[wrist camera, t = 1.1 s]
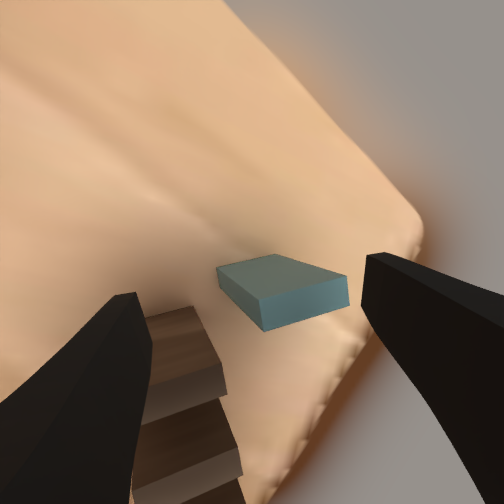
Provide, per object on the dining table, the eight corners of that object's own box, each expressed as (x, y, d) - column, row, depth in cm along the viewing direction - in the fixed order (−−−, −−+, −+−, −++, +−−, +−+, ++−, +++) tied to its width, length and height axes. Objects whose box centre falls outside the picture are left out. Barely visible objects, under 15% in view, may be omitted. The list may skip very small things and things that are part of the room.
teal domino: (278, 273, 24) (349, 305, 15) (220, 288, 22) (263, 332, 14) (275, 254, 24) (346, 275, 15) (216, 267, 22) (258, 299, 14)
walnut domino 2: (207, 379, 23) (243, 474, 15) (142, 401, 22) (139, 521, 13) (204, 360, 23) (237, 446, 14) (137, 381, 21) (131, 491, 13)
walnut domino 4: (218, 429, 24) (257, 547, 15) (155, 453, 22) (160, 598, 14) (214, 411, 24) (252, 522, 15) (151, 435, 22) (153, 571, 14)
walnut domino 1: (197, 326, 22) (227, 394, 14) (128, 345, 21) (115, 434, 12) (193, 305, 22) (221, 362, 14) (123, 323, 21) (106, 400, 12)
